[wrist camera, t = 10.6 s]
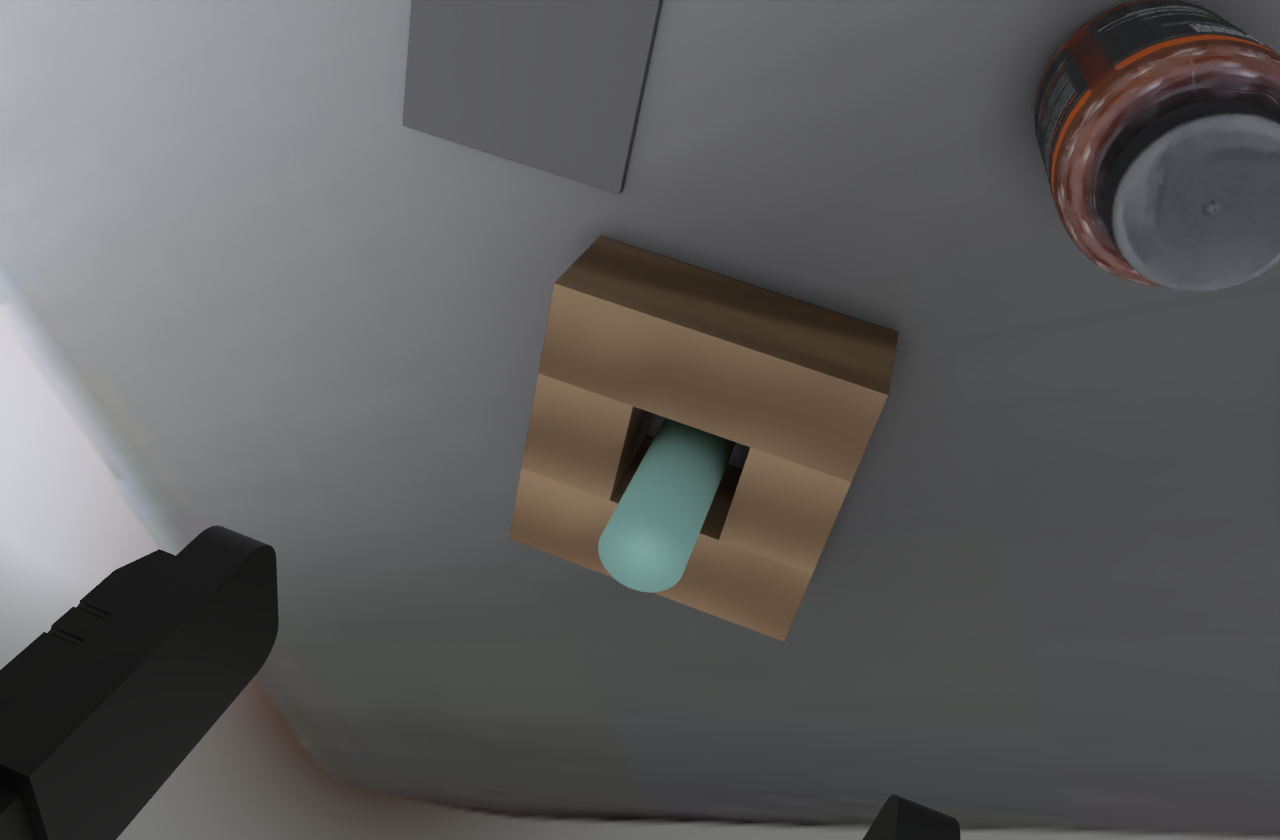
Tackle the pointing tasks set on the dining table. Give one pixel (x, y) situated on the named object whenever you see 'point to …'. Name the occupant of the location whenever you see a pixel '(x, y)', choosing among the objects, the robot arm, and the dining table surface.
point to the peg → (664, 507)
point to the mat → (533, 80)
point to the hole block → (700, 420)
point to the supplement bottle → (1165, 146)
